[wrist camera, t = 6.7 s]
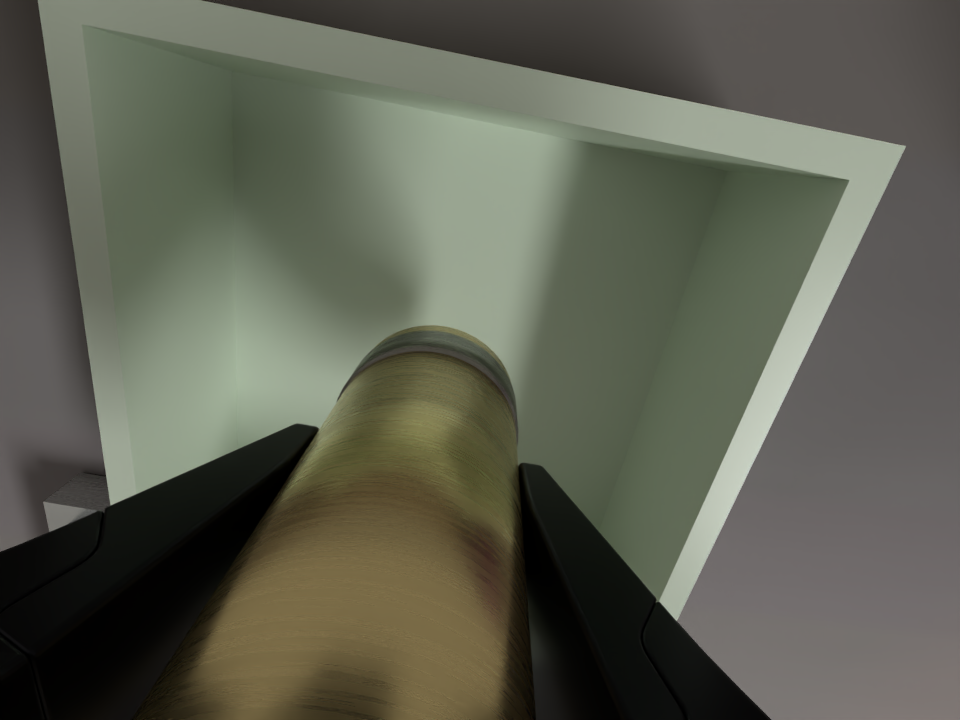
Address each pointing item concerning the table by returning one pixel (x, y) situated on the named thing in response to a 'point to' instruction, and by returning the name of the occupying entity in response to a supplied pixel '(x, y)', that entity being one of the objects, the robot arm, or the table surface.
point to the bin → (441, 251)
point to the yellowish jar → (379, 560)
